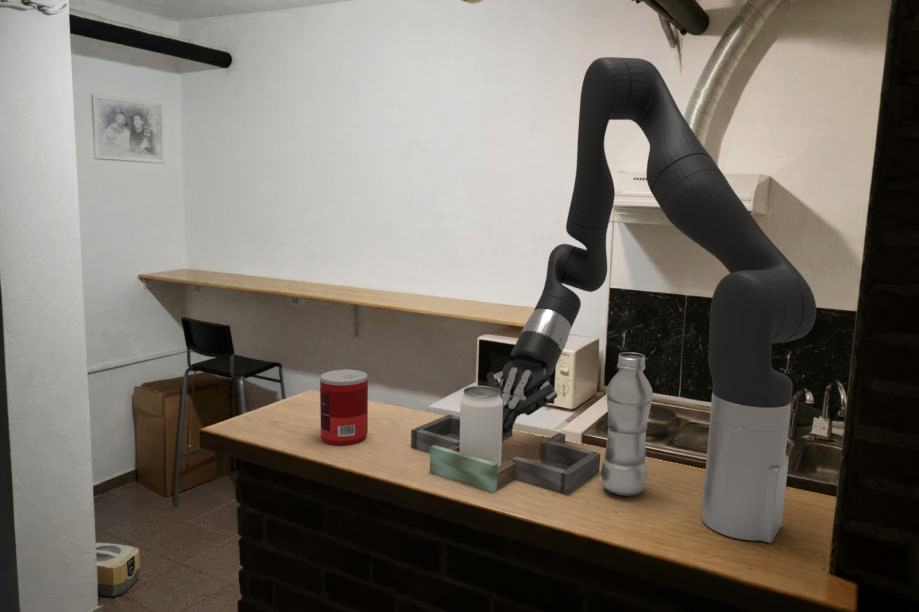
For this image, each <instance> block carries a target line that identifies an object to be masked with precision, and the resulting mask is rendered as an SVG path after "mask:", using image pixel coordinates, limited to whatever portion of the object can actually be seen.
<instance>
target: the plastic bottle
mask: <svg viewBox="0 0 919 612" xmlns="http://www.w3.org/2000/svg"><path fill="white" fill-rule="evenodd" d="M616 365H617V367H616V368H617V369H618V372H616V374H615V375H614V376H612V379H611V380H610V382H608V385H607V387H606V403H607V404H606V405H607V407H606V408H607V426H608V428H607V438H606V439H607V440H606V447H605V454H604V457H603V460H602V464H601V465H602V466H601V469H600V475H601V483H602V484H603V486H604V488H605V490H607V491H608V492H609V493H613V494H615V495H619V496H635V495H636V496H637V495H639V494H640V493H641V492H642V491H643V490H644V489H645V487H646V484H647V481H648V466H647V465H648V464H647V461H646V437H647V436H646V435H647V432H646V431H647V429H648V420H649V417H650V416H649V415H650V410H651V406H652V401H653V395H654V393H653V388H652V386H651V384H650V381H649V380H648V378H647V377H646V376H645V373H644V370H645V371H646V356H645V355H644V354H642V353H639V352H630V351H629V352H621V353H619V354H618V362H617V364H616Z"/></svg>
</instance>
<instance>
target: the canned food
mask: <svg viewBox="0 0 919 612" xmlns="http://www.w3.org/2000/svg"><path fill="white" fill-rule="evenodd" d="M319 380H320V381H319V395H320V396H319V399H320V401H319V403H320V405H319V406H320V408H319V410H320V411H319V412H320V413H319V414H320V438H321V439H322V441H323V442H324V443H326V444H328V445H333V446H349V445H350V446H351V445H355V444H358V443H362V442H364V440H366V438H367V435H368V432H369V430H368V427H369V426H368V424H369V422H368V420H369V419H368V417H369V416H368V415H369V414H368V412H369V410H368V409H369V408H368V407H369V400H368V399H369V383H368V382H369V381H368V380H369V378H368V374H367V372H364V371H362V370H358V369H357V370H356V369H335V370H330V371H329V370H328V371H327V372H323V373H322V374H321V375H320V379H319Z"/></svg>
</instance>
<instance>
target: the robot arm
mask: <svg viewBox="0 0 919 612" xmlns="http://www.w3.org/2000/svg"><path fill="white" fill-rule="evenodd" d="M582 81H583V82H582V86H581V91H580V98H579V100H580V101H579V111H578V112H579V115H578V129H577V130H578V131H577V149H576V170H575V178H574V185H573V190H572V195H571V200H570V204H569V210H568V213H567V219H566V225H565V230H566V233H567V234H568V236H570V237H571V238H572V239H574V240H575V241H577V242H579V243H580V244H582V245H583V247H585V248H586V249H585V248H583V247H578V246H575V245H572V244H568V243H561V244H558V245H556V247H554V248H553V249H552V250H551V252H550V254H549V256H548V261H547V268H546V277H545V282H544V287H543V288H542V293H541V295H540V297H539V298H538V302H537V303H536V306H535V307H534V309H533V312H532V313H531V315H529V318H528V319H527V321H526V322H525V325H524V326H523V327H522V328H523V329H522V330H521V333H520V334H519V337H518V339H517V341H516V343H515V345H514V347H513V349H512V351H511V352H510V358H509V360H508V362H507V363H506V364H505V365H504V366H503V368H502V370H501V371H499V372H496V373H494V372H492V371H489V372H488V373H487V374H486V378H487V379H486V380H487V382H488V383H487V384H488V386H489V387H494V388H497V389H499V390H500V396H501V398H502V401H503V418H502V435H506V434H507V432H510V431H511V429H512V427H513V426H514V425H515V423H516V420H517V418H518V417H520V416H521V415H524V414H525V415H526V416H530V415H532V414H533V413H535V412H536V411H538V410H539V409H542V408H543V407H545V406H546V405H548V404H549V403H550V402H552V401H554V400H555V399H556V398H557V397H558V393H557V391H556V389H555V388H554V386H553V385H552V384H551V380H552V379H551V375H553V373H554V371H555V368H556V366H557V364H558V362H559V359H560V357H561V356H562V353H563V351H564V349H565V348H566V344H567V343H568V339H569V336H570V332H571V330H572V327H573V325H574V323H575V321H576V318H577V316H578V315H579V312H580V309H581V306H582V305H581V303H582V301H581V299H580V297H579V296H578V295H577V293H576V292H575V291H573V290H572V289H570V288H569V287H572V288H575V289H578V290H581V291H585V292H588V293H589V292H590V293H593V292H596V291H598V290H599V289H600V288H601V287H602V286H603V285H604V284H605V282H606V279H607V275H608V256H607V235H608V234H607V233H608V228H609V224H610V220H611V215H612V211H613V208H614V202H615V196H616V195H615V193H616V192H615V191H616V190H615V184H614V180H613V179H614V178H613V177H612V176H613V175H612V173H611V170H610V167H609V164H608V160H607V156H606V152H605V151H606V150H605V139H606V138H605V137H606V134H607V128H608V126H609V122H610V121H619V120H621V121H624V120H625V121H627V120H628V121H632V122H634V123H635V124H636V125H637V126H638V127H639V128H640V129H641V131H642V132H643V134H644V136H645V137H646V139H647V141H648V144H649V150H648V151H649V152H648V157H647V163H646V174H645V175H646V181H647V185H648V188H649V190H650V193H651V194H652V195H653V198H654V199H655V200H656V202H657V204H658V206H659V207H660V209H661V210H662V212H663V214H664V216H665V217H666V218H667V220H668V221H669V222H670V223H671V224H672V225H673V226H674V227H675V228H676V229H677V230H679V231H680V232H681V233H682V234H683V235H685V237H687V238H688V239H690V240H692V241H693V242H694V243H695V244H697V245H698V246H700V247H701V248H702V249H704V250H705V251H706V252H708V253H709V254H710V255H712V256H714V257H715V258H716V259H717V260H718V261H719V262H720V263H721V264H722V265H723V266H724V267H725V268H726V270H727V271H728V272H729V273H728V274H727V275H725V276H724V277H722V278H721V279H720V281H718V283H717V285H716V287H715V289H714V292H713V295H712V299H711V302H710V310H709V331H708V332H709V333H708V334H709V335H708V336H709V337H708V340H709V341H708V368H709V371H710V375H711V379H712V393H711V405H710V416H709V427H708V438H707V439H708V440H707V447H706V448H707V449H706V462H705V472H704V473H705V474H704V484H703V485H704V486H703V497H702V503H701V505H702V509H701V520H702V521H703V522H702V523H704V524H705V525H706V526H707V527H708V528H710V529H711V530H713V531H714V532H716V533H719V534H720V535H724V536H727V537H730V538H733V539H734V538H735V539H739V540H744V541H746V540H747V541H760V542H761V541H762V542H765V543H769V544H771V543H773V541H774V539H775V538H776V536H777V534H778V532H779V531H780V529H781V528H782V526H783V525H782V524H783V515H784V514H783V513H784V507H785V499H786V497H785V496H786V490H787V489H786V488H787V480H788V468H789V456H788V455H786V454H787V445H788V436H789V434H788V433H789V427H790V426H789V425H790V418H791V406H792V399H793V390H794V389H793V380H791V378H790V377H789V376H787V375H786V374H785V373H782V372H780V371H778V370H774V368H773V366H772V345H773V344H779V343H788V342H792V341H795V340H799V339H802V338H803V337H805V336H806V335H808V334H809V333H810V332H811V330H812V328H813V326H814V325H815V322H816V317H817V303H816V300H815V299H816V298H815V296H814V293H813V291H812V288H811V287H810V285H809V283H808V282H807V280H806V279H805V278H804V276H803V275H802V274H801V273H800V272H799V270H798V269H797V268H796V267H795V266H794V264H793V263H792V262H791V261H790V260H789V259H788V258H787V257H786V256H785V255H784V254H783V252H782V251H781V250H780V249H779V248H778V247H777V246H776V245H775V244H774V242H773V241H772V240H771V239H770V238H769V237H768V235H767V234H766V233H765V232H764V231H763V229H762V228H761V227H760V225H759V223H758V222H757V221H756V219H755V218H754V216H753V215H752V214H751V213H750V211H749V209H748V207H747V206H745V204H744V203H743V201H742V200H741V199H740V197H739V196H738V195H737V193H736V192H735V191H734V188H732V186H731V185H730V182H729V181H728V179H727V178H726V176H725V175H724V174H723V172H722V171H721V169H720V168H719V166H718V165H717V163H716V162H715V160H714V159H713V158H712V156H711V155H710V153H709V152H708V151H707V150H706V148H705V147H704V146H703V144H702V143H701V141H700V140H699V139H698V137H697V135H696V134H695V132H694V130H693V129H692V128H691V126H690V125H689V123H688V122H687V119H685V117H684V115H683V114H682V112H681V110H680V108H679V107H678V105H677V103H676V101H675V99H674V97H673V95H672V94H671V91H670V89H669V87H668V85H667V84H666V83H667V82H665V79H664V78H663V76H662V74H661V72H660V71H659V69H657V67H656V66H655V65H654V64H653V63H652V62H651V61H648V60H646V59H643V58H639V57H638V58H637V57H612V56H610V57H609V56H608V57H607V56H606V57H605V56H604V57H603V56H602V57H599V58H596V59H595V60H593V61H592V62H591V63H590V64H589V66H588V68H587V69H586V71H585V73H584V77H583V80H582ZM567 286H568V287H567ZM503 382H504V388H503V389H502V387H503ZM502 390H503V391H502ZM502 392H503V393H502ZM513 428H514V427H513Z"/></svg>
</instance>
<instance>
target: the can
mask: <svg viewBox="0 0 919 612" xmlns="http://www.w3.org/2000/svg"><path fill="white" fill-rule="evenodd" d="M459 408H460V409H459V413H460V414H459V417H460V453H463V454H467V455H470V456H474V457H477V458H480V459H484V460H487V461H491V462H494V463H497V464H498V466H497V467H499V466H501V465H502V454H503V453H502V452H503V450H502V449H503V448H502V447H503V446H502V444H503V440H502V418H503V401H502V398H501V396H500V390H499V389H497V388H494V387H489V385H488V386H487V385H475V386H474V385H473V386H469V387H465V388H464V389H463V395H462V396H461V399H460V406H459Z"/></svg>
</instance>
